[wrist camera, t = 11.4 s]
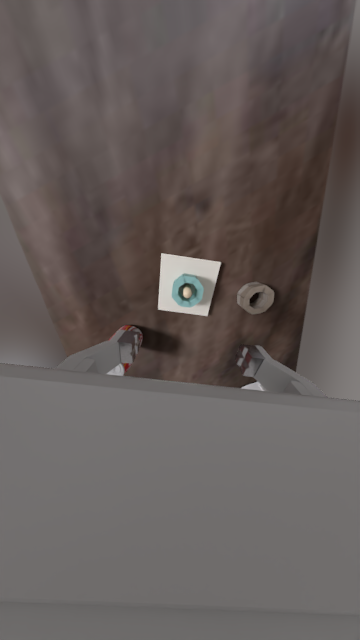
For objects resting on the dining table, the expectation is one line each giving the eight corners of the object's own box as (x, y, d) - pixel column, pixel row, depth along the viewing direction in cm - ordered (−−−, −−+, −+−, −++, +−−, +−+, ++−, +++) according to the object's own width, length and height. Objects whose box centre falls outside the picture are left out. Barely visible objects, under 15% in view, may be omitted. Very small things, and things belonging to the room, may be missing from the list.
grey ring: (264, 279, 28) (275, 283, 25) (262, 305, 31) (272, 310, 27) (236, 285, 29) (243, 289, 26) (237, 309, 31) (243, 316, 28)
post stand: (219, 261, 27) (229, 263, 21) (206, 314, 32) (211, 326, 26) (162, 253, 26) (156, 252, 21) (158, 307, 31) (153, 318, 26)
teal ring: (203, 276, 27) (206, 279, 24) (197, 303, 29) (199, 308, 26) (175, 272, 27) (173, 274, 23) (171, 299, 29) (170, 304, 26)
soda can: (144, 346, 37) (128, 382, 26) (119, 343, 37) (94, 379, 26) (144, 324, 34) (126, 356, 23) (117, 321, 34) (86, 352, 23)
